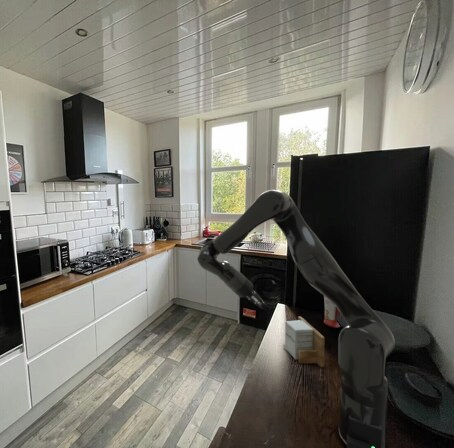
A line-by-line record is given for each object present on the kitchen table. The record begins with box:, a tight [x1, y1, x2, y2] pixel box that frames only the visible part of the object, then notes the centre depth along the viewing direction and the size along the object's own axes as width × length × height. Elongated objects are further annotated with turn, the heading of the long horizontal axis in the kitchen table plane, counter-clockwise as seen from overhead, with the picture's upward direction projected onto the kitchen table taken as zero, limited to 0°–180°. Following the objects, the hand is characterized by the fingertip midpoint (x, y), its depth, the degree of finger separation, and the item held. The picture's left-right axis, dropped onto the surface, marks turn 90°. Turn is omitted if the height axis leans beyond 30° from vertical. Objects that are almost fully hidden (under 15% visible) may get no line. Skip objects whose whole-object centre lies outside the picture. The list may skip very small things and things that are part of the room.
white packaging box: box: [284, 319, 313, 361], centre depth 100 cm, size 7×7×13 cm
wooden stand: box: [297, 316, 326, 368], centre depth 100 cm, size 8×16×12 cm, turn 178°
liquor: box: [323, 295, 341, 329], centre depth 118 cm, size 7×7×28 cm
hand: (269, 310), depth 99 cm, fingers closed
